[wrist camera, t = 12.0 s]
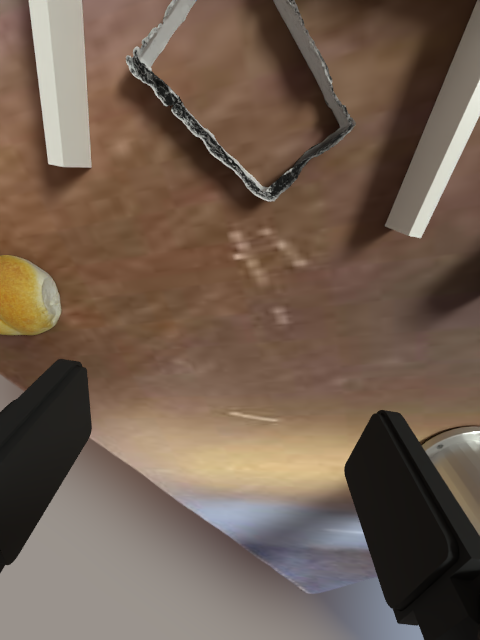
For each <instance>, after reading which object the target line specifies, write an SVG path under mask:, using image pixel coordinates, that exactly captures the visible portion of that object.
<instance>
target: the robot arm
mask: <svg viewBox="0 0 480 640" xmlns="http://www.w3.org/2000/svg"><path fill="white" fill-rule="evenodd" d="M91 429H92V426H91V414H90V402H89V390H88V378H87V369H86V368H84V367H82V364H81V363H80V362H77V361H71V360H64V359H59V360H57V361H56V362H55V363H54V364H53V365H52V366H51V367H50V368H49V369H47V370H46V371H45V372H44V373H43V374H42V375H41V376H40V377H39V378H38V379H37V380H36V381H35V382H34V383H33V384H32V385H31V386H30V387H29V388H28V389H27V390H26V391H25V392H24V393H23V394H22V395H21V396H20V397H19V398H18V399H16V400H14V401H13V402H11V403H10V404H9V405H7V406H6V407H5V408H4V409H3V410H2V411H1V412H0V573H1V571H2V569H3V568H4V566H5V565H10V564H11V563H12V562H13V561H14V560H15V559H16V558H17V556H18V554H19V553H20V551H21V550H22V548H23V546H24V545H25V543H26V541H27V540H28V538H29V536H30V535H31V533H32V532H33V530H34V528H35V526H36V525H37V523H38V522H39V520H40V518H41V517H42V515H43V513H44V512H45V510H46V508H47V507H48V505H49V503H50V502H51V500H52V498H53V497H54V495H55V493H56V492H57V490H58V489H59V487H60V485H61V484H62V482H63V480H64V478H65V477H66V475H67V474H68V472H69V470H70V469H71V467H72V465H73V464H74V462H75V460H76V459H77V457H78V455H79V454H80V452H81V450H82V449H83V447H84V445H85V444H86V442H87V441H88V439H89V436H90V434H91ZM344 472H345V477H346V480H347V483H348V487H349V490H350V493H351V496H352V499H353V502H354V505H355V508H356V511H357V514H358V517H359V520H360V523H361V527H362V530H363V533H364V536H365V539H366V542H367V545H368V548H369V551H370V554H371V557H372V560H373V563H374V567H375V570H376V573H377V576H378V579H379V582H380V585H381V588H382V591H383V594H384V597H385V600H386V602H387V604H388V605H389V606H390V607H391V608H393V611H394V613H395V617H396V620H397V622H398V623H399V624H408V625H419V627H420V629H421V632H422V634H423V637H424V640H480V427H478V426H470V427H461V428H457V429H452V430H449V431H446V432H443V433H441V434H439V435H437V436H435V437H433V438H431V439H430V440H428V441H427V442H425V443H424V444H423V445H422V446H421V444H420V442H419V441H418V439H417V438H416V436H415V435H414V433H413V432H412V430H411V429H410V427H409V425H408V424H407V422H406V421H405V419H404V418H403V416H402V415H401V414H400V413H397V412H391V411H385V410H380V411H378V412H377V414H373V415H372V417H371V418H370V420H369V422H368V424H367V426H366V428H365V429H364V431H363V433H362V435H361V437H360V439H359V440H358V442H357V444H356V446H355V448H354V450H353V451H352V453H351V455H350V457H349V459H348V461H347V462H346V464H345V469H344Z"/></svg>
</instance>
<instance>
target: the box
mask: <svg viewBox="0 0 480 640" xmlns="http://www.w3.org/2000/svg"><path fill="white" fill-rule="evenodd" d="M29 7H30V16H31V24H32V32H33V41H34V49H35V57H36V66H37V74H38V82H39V90H40V99H41V107H42V115H43V124H44V132H45V140H46V148H47V157H48V164H50V165H55V166H61V167H84V168H92V166H91V149H90V132H89V114H88V97H87V79H86V62H85V45H84V27H83V10H82V0H29ZM479 116H480V0H477V2H476V5H475V7H474V9H473V12H472V14H471V17H470V19H469V22H468V24H467V26H466V29H465V31H464V34H463V36H462V39H461V41H460V44H459V46H458V48H457V51H456V53H455V56H454V58H453V61H452V63H451V66H450V68H449V70H448V73H447V75H446V78H445V80H444V83H443V85H442V88H441V90H440V92H439V95H438V97H437V100H436V102H435V105H434V107H433V109H432V112H431V114H430V117H429V119H428V122H427V124H426V127H425V129H424V131H423V134H422V136H421V139H420V141H419V144H418V146H417V149H416V151H415V153H414V156H413V158H412V161H411V163H410V166H409V168H408V170H407V173H406V175H405V178H404V180H403V183H402V185H401V188H400V190H399V192H398V195H397V197H396V200H395V202H394V205H393V207H392V210H391V212H390V214H389V217H388V219H387V222H386V224H385V227H388V228H390V229H393V230H395V231H398V232H400V233H403V234H406V235H408V236H413V237H418V238H421V237H422V235H423V233H424V231H425V229H426V227H427V224H428V222H429V220H430V218H431V216H432V214H433V212H434V210H435V208H436V206H437V204H438V201H439V199H440V197H441V195H442V193H443V191H444V189H445V187H446V185H447V183H448V181H449V178H450V176H451V174H452V172H453V170H454V168H455V166H456V164H457V162H458V160H459V157H460V155H461V153H462V151H463V149H464V147H465V145H466V143H467V141H468V139H469V137H470V134H471V132H472V130H473V128H474V126H475V124H476V122H477V120H478V118H479Z"/></svg>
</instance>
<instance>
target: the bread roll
mask: <svg viewBox="0 0 480 640" xmlns="http://www.w3.org/2000/svg"><path fill="white" fill-rule="evenodd" d="M61 311H62V310H61V305H60V296H59V293H58V290H57V287H56V284H55V282H54V280H53V279H52V277H51V276H50V275H49V274H48V273H46V272H45V271H44V270H42V269H40V268H39V267H38V266H36V265H34V264H33V263H31V262H30V261H28V260H26V259H23V258H20V257H16V256H11V255H2V256H0V334H3V335H37V334H40V333H43V332H45V331H47V330H49V329H51V328H52V327H54V326H55V325H56V323H57V321H58V319H59V316H60V314H61Z"/></svg>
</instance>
